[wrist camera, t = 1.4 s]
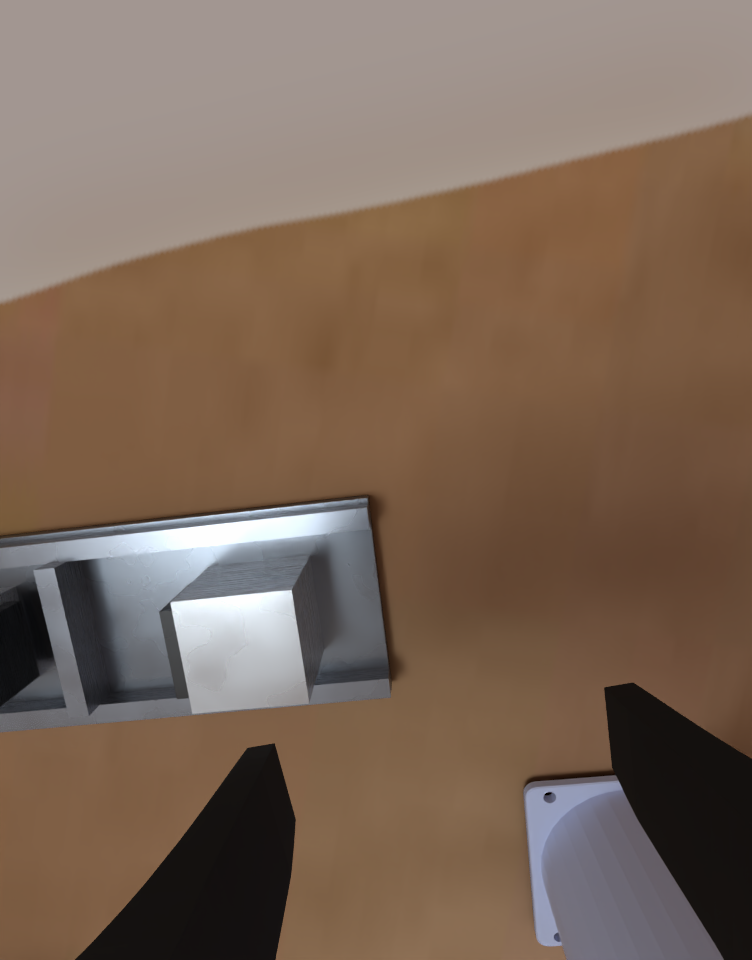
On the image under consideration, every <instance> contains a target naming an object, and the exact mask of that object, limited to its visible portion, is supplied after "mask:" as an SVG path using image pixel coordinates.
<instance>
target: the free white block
mask: <svg viewBox="0 0 752 960" xmlns="http://www.w3.org/2000/svg"><path fill="white" fill-rule="evenodd" d="M159 615H160V619H161V624H162V629H163V634H164V639H165V644H166V649H167V654H168V659H169V664H170V669H171V673H172V678H173V683H174V688H175V693H176V698H177V699H186V698H189V699H190V704H191V709H192V714H197V713H208V712H219V711H231V710H242V709H253V708H264V707H275V706H287V705H298V704H309V703H310V699H311V696H312V692H313V688H314V685H315V681H316V677H317V674H318V670H319V667H320V663H321V659H322V656H323V652H324V648H323V641H322V634H321V627H320V620H319V614H318V607H317V600H316V593H315V587H314V580H313V573H312V566H311V560H310V555H308V556H298V557H289V558H279V559H270V560H260V561H251V562H241V563H232V564H222V565H213V566H209V567H208V568H207V569H206V570H205V571H203V572H202V573H201V574H200V575H199V576H198V577H197V578H196V579H195V580H194V581H193V582H192V583H190V584H188V585H187V586H186V587H185V588H184V589H183V590H182V591H181V592H180V593H179V594H178V595H177V596H175V597H174V598H173V599H172V600H171V601H170V602H169V603H168V604H167V605H166V606H165V607H164V608H162V609H161V610H160V611H159Z"/></svg>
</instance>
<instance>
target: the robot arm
mask: <svg viewBox="0 0 752 960" xmlns="http://www.w3.org/2000/svg"><path fill="white" fill-rule="evenodd" d="M604 690H605V700H606V710H607V720H608V730H609V740H610V750H611V760H612V768H613V770H614V772H615V774H616V775H612V776H599V777H586V778H574V779H561V780H548V781H535V782H531V783H529V784H527V785H526V787H525V788H524V792H523V794H524V806H525V818H526V830H527V843H528V855H529V867H530V879H531V892H532V904H533V916H534V928H535V933H536V937H537V940H538V942H539V943H540V944H542V945H544V946H563V949H564V953H565V956H566V959H567V960H752V759H751V758H749V757H748V756H746V755H744V754H743V753H741V752H739V751H738V750H736V749H734V748H733V747H731V746H729V745H728V744H726V743H725V742H723V741H721V740H720V739H718V738H717V737H715V736H713V735H712V734H710V733H709V732H707V731H706V730H704V729H703V728H701V727H699V726H698V725H696V724H695V723H693V722H692V721H690V720H689V719H687V718H686V717H684V716H683V715H681V714H680V713H678V712H677V711H675V710H674V709H672V708H671V707H669V706H668V705H666V704H665V703H663V702H662V701H660V700H659V699H657V698H656V697H654V696H653V695H651V694H650V693H648V692H647V691H645V690H644V689H642V688H641V687H639V686H637V685H636V684H634V683H628V684H622V685H616V686H610V687H604ZM547 792H553V793H552V794H551V795H548V796H546V795H545V794H546V793H547ZM295 821H296V819H295V815H294V812H293V808H292V805H291V801H290V797H289V794H288V790H287V787H286V783H285V779H284V776H283V772H282V768H281V765H280V761H279V758H278V754H277V750H276V747H275V743H274V744H268V745H262V746H257V747H251V748H247V749H246V751H245V752H244V754H243V755H242V756H241V758H240V759H239V760H238V762H237V763H236V764H235V766H234V767H233V769H232V770H231V771H230V773H229V774H228V775H227V777H226V778H225V780H224V781H223V782H222V784H221V785H220V787H219V788H218V789H217V791H216V792H215V794H214V795H213V796H212V798H211V799H210V801H209V802H208V803H207V805H206V806H205V807H204V809H203V810H202V812H201V813H200V814H199V816H198V817H197V818H196V820H195V821H194V822H193V824H192V825H191V826H190V828H189V829H188V830H187V832H186V833H185V834H184V836H183V837H182V838H181V840H180V841H179V842H178V843H177V845H176V846H175V847H174V848H173V850H172V851H171V852H170V853H169V855H168V856H167V857H166V858H165V860H164V861H163V862H162V863H161V865H160V866H159V867H158V868H157V870H156V871H155V872H154V873H153V875H152V876H151V877H150V878H149V880H148V881H147V882H146V883H145V884H144V886H143V887H142V888H141V889H140V890H139V891H138V893H137V894H136V895H135V896H134V897H133V898H132V899H131V901H130V902H129V903H128V904H127V905H126V906H125V907H124V909H123V910H122V911H121V912H120V913H119V914H118V915H117V916H116V917H115V918H114V919H113V921H112V922H111V923H110V924H109V925H108V926H107V927H106V928H105V929H104V930H103V931H102V933H101V934H100V935H99V936H98V937H97V938H96V939H95V940H94V941H93V942H92V943H91V944H90V945H89V946H88V947H87V948H86V949H85V951H83V952H82V953H81V954H80V955H79V956H78V957H77V958H76V959H75V960H275V959H276V953H277V948H278V943H279V938H280V932H281V927H282V922H283V917H284V911H285V906H286V900H287V895H288V889H289V884H290V878H291V871H292V860H293V849H294V835H295Z"/></svg>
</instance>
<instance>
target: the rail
mask: <svg viewBox="0 0 752 960" xmlns="http://www.w3.org/2000/svg"><path fill="white" fill-rule="evenodd" d="M308 555H310V560H311V566H312V573H313V580H314V587H315V593H316V600H317V607H318V614H319V620H320V627H321V634H322V641H323V648H324V652H323V656H322V659H321V663H320V667H319V670H318V674H317V677H316V681H315V685H314V688H313V692H312V696H311V699H310V703H309V704H298V705H287V706H275V707H264V708H253V709H242V710H231V711H219V712H208V713H197V714H192V709H191V704H190V699H189V698H186V699H177V698H176V693H175V688H174V683H173V678H172V673H171V669H170V664H169V659H168V654H167V649H166V644H165V639H164V634H163V629H162V624H161V619H160V615H159V611H160V610H161V609H162V608H164V607H165V606H166V605H167V604H168V603H169V602H170V601H171V600H172V599H173V598H174V597H175V596H177V595H178V594H179V593H180V592H181V591H182V590H183V589H184V588H185V587H186V586H187V585H188V584H190V583H192V582H193V581H194V580H195V579H196V578H197V577H198V576H199V575H200V574H201V573H202V572H203V571H205V570H206V569H207V568H208V567H209V566H213V565H222V564H232V563H241V562H251V561H260V560H270V559H279V558H289V557H298V556H308ZM391 690H392V681H391V673H390V665H389V657H388V649H387V641H386V633H385V625H384V617H383V609H382V601H381V594H380V586H379V578H378V570H377V562H376V554H375V546H374V538H373V530H372V522H371V514H370V506H369V498H368V495H363V496H354V497H345V498H336V499H327V500H318V501H309V502H300V503H291V504H282V505H273V506H264V507H255V508H247V509H238V510H229V511H220V512H211V513H202V514H193V515H184V516H175V517H166V518H157V519H148V520H139V521H130V522H121V523H112V524H103V525H94V526H85V527H76V528H67V529H58V530H49V531H40V532H31V533H22V534H13V535H5V536H0V732H8V731H20V730H31V729H42V728H53V727H65V726H76V725H87V724H98V723H110V722H121V721H132V720H143V719H155V718H166V717H177V716H188V715H200V714H211V713H222V712H233V711H245V710H256V709H267V708H278V707H290V706H301V705H312V704H323V703H335V702H346V701H357V700H368V699H380V698H391Z"/></svg>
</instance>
